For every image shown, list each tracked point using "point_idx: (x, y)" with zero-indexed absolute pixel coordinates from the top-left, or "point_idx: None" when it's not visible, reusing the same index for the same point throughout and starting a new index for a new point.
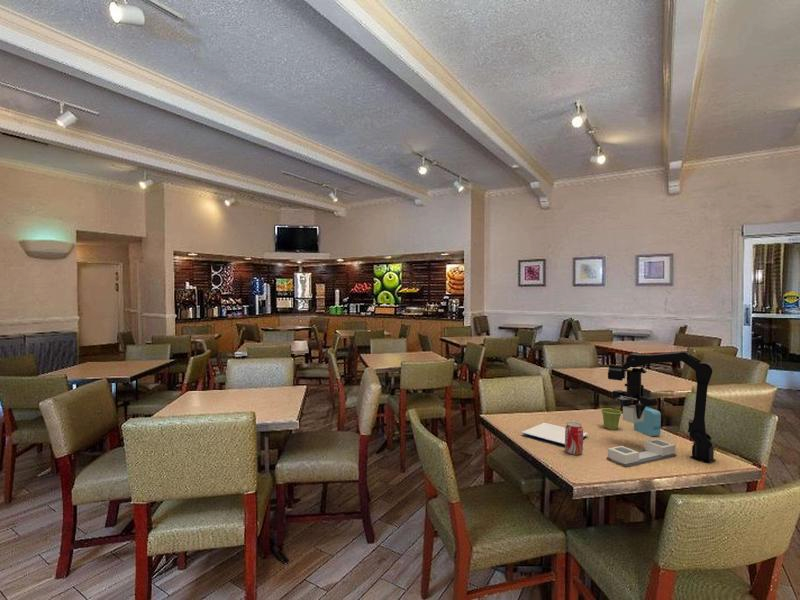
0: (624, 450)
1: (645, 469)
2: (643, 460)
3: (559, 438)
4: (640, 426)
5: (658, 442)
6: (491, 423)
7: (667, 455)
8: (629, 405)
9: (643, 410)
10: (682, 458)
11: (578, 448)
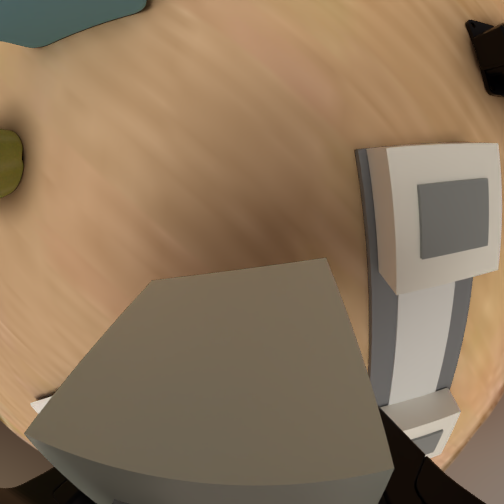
0: (422, 449)
1: (473, 385)
2: (451, 366)
3: None
4: (52, 26)
5: (454, 225)
6: None
7: None
8: (88, 500)
9: (444, 477)
10: (487, 139)
11: None
